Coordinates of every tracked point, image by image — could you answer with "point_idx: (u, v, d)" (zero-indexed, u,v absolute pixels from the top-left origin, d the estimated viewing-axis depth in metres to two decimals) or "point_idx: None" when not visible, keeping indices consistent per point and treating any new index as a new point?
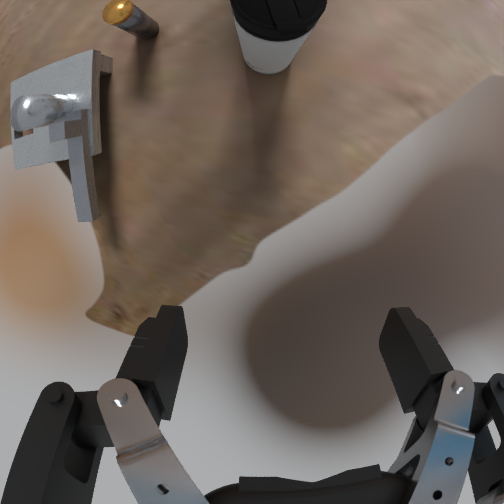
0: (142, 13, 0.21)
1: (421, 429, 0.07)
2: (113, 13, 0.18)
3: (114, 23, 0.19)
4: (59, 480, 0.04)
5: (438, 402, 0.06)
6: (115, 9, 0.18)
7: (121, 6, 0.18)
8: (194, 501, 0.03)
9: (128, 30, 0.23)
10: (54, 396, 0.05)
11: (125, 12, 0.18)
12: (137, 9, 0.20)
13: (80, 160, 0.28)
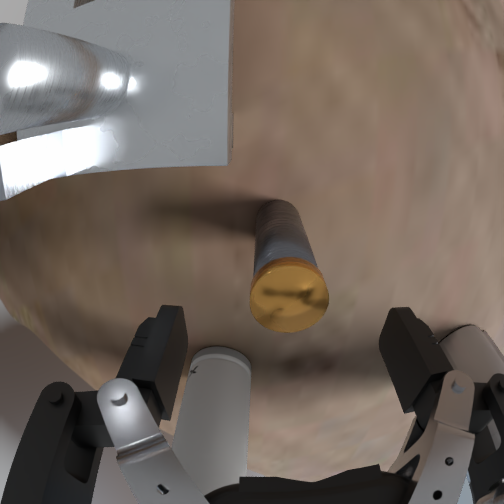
0: None
1: (421, 429, 0.07)
2: (280, 298, 0.12)
3: (250, 294, 0.12)
4: (59, 480, 0.04)
5: (438, 402, 0.06)
6: (291, 302, 0.12)
7: (294, 315, 0.12)
8: (194, 501, 0.03)
9: (255, 252, 0.16)
10: (54, 395, 0.05)
11: (270, 324, 0.13)
12: None
13: None
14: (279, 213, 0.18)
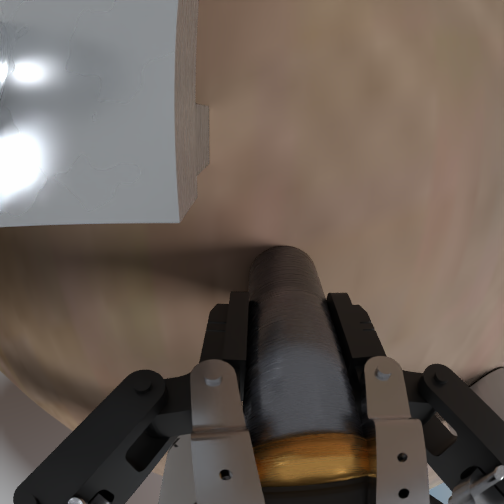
0: None
1: None
2: None
3: None
4: (114, 466, 0.04)
5: (366, 397, 0.06)
6: None
7: None
8: (250, 494, 0.04)
9: None
10: (142, 385, 0.06)
11: None
12: None
13: None
14: (287, 282, 0.10)
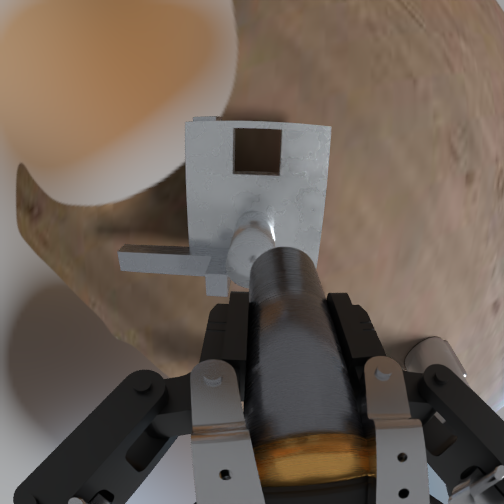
0: None
1: None
2: None
3: None
4: (114, 466, 0.04)
5: (366, 397, 0.06)
6: None
7: None
8: (251, 494, 0.04)
9: None
10: (142, 384, 0.06)
11: None
12: None
13: (184, 270, 0.30)
14: (288, 283, 0.10)
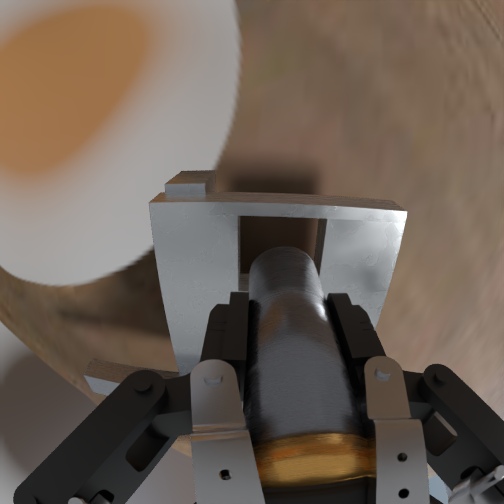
0: None
1: None
2: None
3: None
4: (114, 466, 0.04)
5: (366, 397, 0.06)
6: None
7: None
8: (250, 494, 0.04)
9: None
10: (142, 385, 0.06)
11: None
12: None
13: None
14: (287, 282, 0.10)
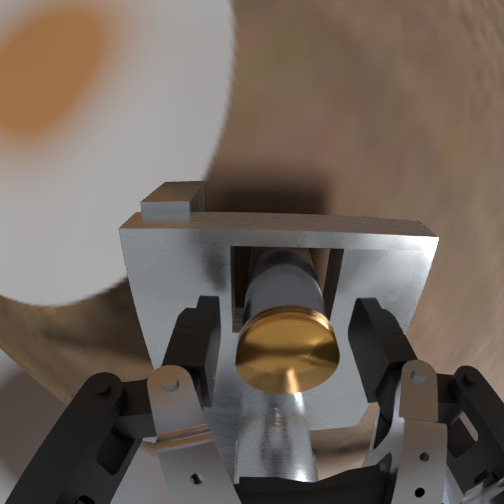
0: None
1: (387, 422, 0.07)
2: (275, 359, 0.09)
3: (236, 351, 0.09)
4: (87, 470, 0.04)
5: (400, 396, 0.06)
6: (290, 363, 0.09)
7: (293, 376, 0.09)
8: (225, 495, 0.04)
9: (247, 285, 0.12)
10: (101, 387, 0.06)
11: (263, 386, 0.09)
12: None
13: None
14: None
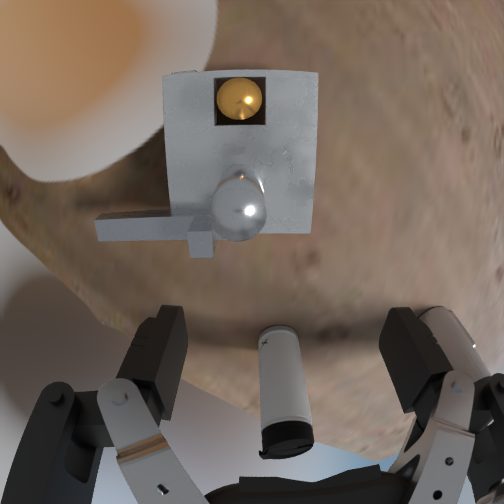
0: None
1: (421, 429, 0.07)
2: (233, 95, 0.19)
3: (217, 97, 0.19)
4: (59, 480, 0.04)
5: (438, 402, 0.06)
6: (240, 97, 0.19)
7: (242, 106, 0.19)
8: (194, 501, 0.03)
9: None
10: (55, 396, 0.05)
11: (229, 113, 0.20)
12: None
13: (166, 234, 0.27)
14: None
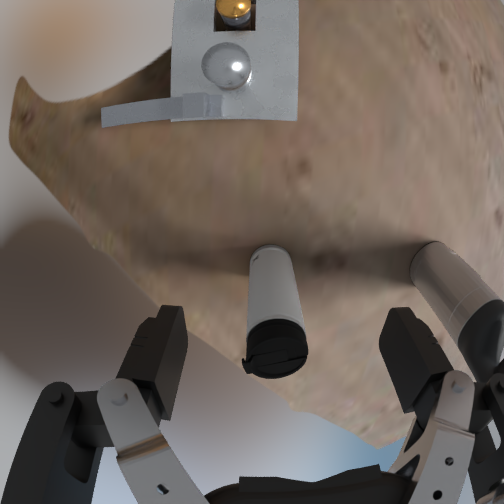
0: (238, 25, 0.23)
1: (421, 429, 0.07)
2: (228, 0, 0.19)
3: None
4: (59, 480, 0.04)
5: (438, 402, 0.06)
6: (233, 1, 0.19)
7: (235, 7, 0.20)
8: (194, 501, 0.03)
9: None
10: (54, 396, 0.05)
11: (225, 11, 0.20)
12: (238, 21, 0.22)
13: (163, 114, 0.27)
14: None
